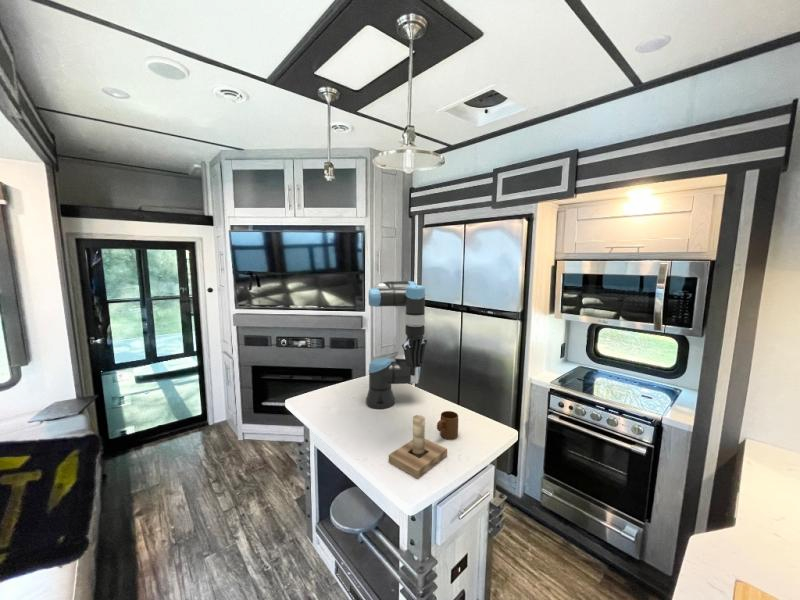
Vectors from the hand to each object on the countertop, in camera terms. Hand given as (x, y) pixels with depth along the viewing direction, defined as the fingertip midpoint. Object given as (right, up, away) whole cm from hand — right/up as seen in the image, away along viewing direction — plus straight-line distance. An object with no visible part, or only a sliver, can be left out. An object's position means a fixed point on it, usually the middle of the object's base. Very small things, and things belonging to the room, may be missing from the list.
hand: (414, 382), depth 132 cm
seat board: (+1, -27, -7) cm, 28 cm away
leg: (+1, -27, -7) cm, 28 cm away
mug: (+14, -26, +8) cm, 30 cm away
